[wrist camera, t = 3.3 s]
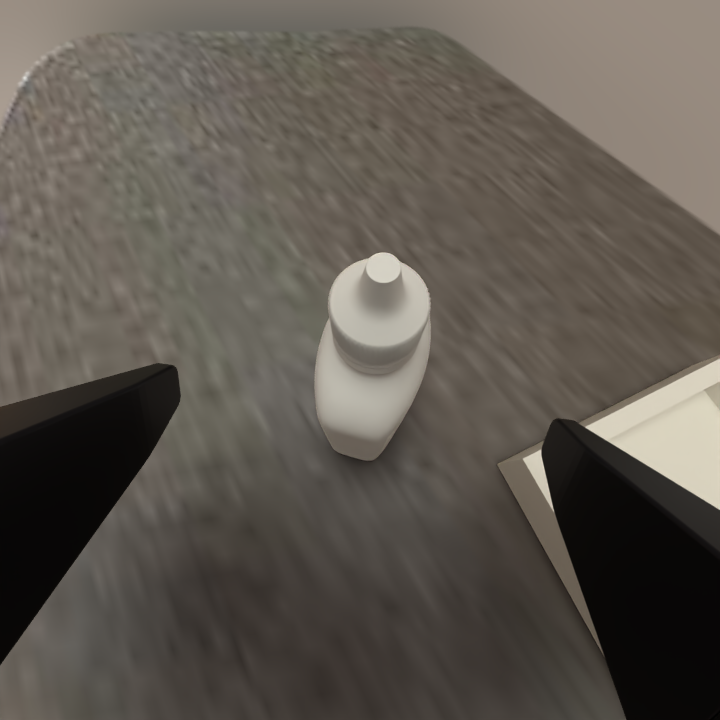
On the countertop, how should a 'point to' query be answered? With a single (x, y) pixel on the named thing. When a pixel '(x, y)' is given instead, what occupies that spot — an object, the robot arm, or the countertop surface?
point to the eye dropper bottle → (371, 354)
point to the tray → (635, 454)
